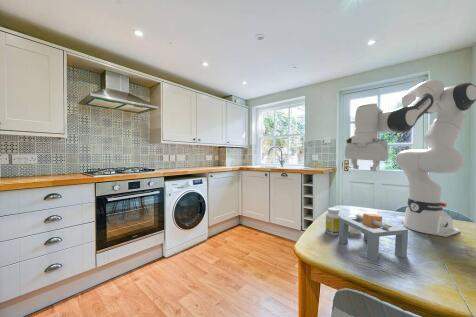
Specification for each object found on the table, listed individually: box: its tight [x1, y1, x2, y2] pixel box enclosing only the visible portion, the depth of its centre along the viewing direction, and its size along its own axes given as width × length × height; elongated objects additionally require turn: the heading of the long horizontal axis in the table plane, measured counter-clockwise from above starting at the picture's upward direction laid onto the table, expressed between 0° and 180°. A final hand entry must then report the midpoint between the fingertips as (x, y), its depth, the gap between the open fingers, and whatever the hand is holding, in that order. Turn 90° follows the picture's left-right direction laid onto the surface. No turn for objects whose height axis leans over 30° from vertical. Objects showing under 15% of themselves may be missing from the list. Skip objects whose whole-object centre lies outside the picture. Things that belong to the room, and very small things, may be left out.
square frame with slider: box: [338, 213, 409, 263], centre depth 77 cm, size 15×16×12 cm
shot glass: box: [346, 214, 362, 235], centre depth 94 cm, size 7×7×7 cm
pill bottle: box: [325, 207, 342, 236], centre depth 92 cm, size 6×6×11 cm
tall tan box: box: [361, 213, 383, 235], centre depth 77 cm, size 6×3×8 cm, turn 102°
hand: (364, 170), depth 91 cm, fingers open, 8 cm apart
